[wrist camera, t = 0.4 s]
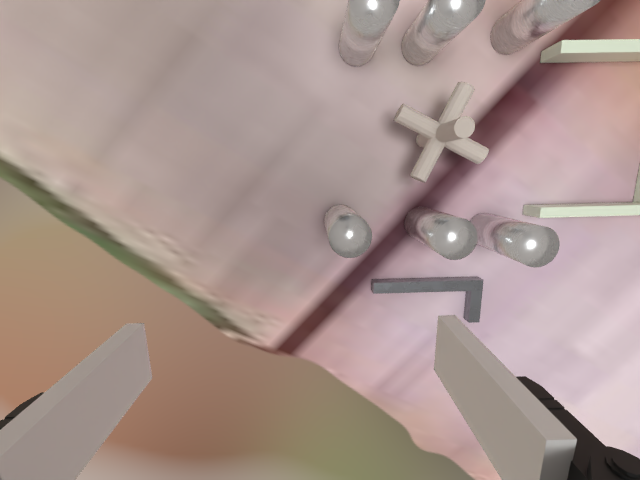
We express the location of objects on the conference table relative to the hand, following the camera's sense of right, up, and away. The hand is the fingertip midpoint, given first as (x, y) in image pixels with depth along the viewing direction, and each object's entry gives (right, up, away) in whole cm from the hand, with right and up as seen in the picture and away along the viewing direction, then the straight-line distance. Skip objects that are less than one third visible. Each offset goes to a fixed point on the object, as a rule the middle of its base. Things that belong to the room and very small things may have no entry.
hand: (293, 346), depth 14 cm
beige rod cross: (+14, +17, +23) cm, 32 cm away
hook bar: (+15, -3, +27) cm, 31 cm away
